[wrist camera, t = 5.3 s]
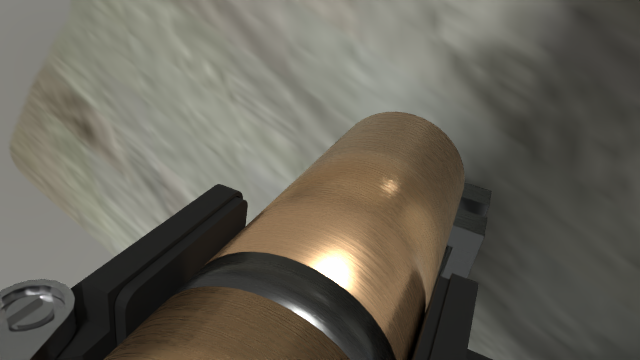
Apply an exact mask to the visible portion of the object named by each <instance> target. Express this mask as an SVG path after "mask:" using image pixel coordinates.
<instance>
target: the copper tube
mask: <svg viewBox="0 0 640 360" xmlns="http://www.w3.org/2000/svg"><path fill="white" fill-rule="evenodd" d="M463 189H464V168H463V163H462V160H461V157H460V155H459V153H458V151H457V149H456V147H455V146H454V144H453V142H452V141H451V140H450V139H449V137H448V136H447V135H446V134H445V133H444V132H443V131H442V130H441V129H439V128H438V127H437V126H435V125H434V124H432V123H431V122H429V121H427V120H425V119H423V118H421V117H418V116H416V115H412V114H408V113H402V112H385V113H378V114H375V115H372V116H369V117H367V118H365V119H363V120H361V121H360V122H358V123H357V124H355V125H354V126H353V127H352V128H351V129H350V130H349V131H348V132H347V133H345V134H344V135H343V136H342V137H341V138H340V139H339V140H338V141H337V142H336V143H335V144H334V145H333V146H332V147H330V148H329V149H328V150H327V151H326V152H325V153H324V154H323V155H322V156H321V157H320V158H319V159H318V160H317V161H315V162H314V163H313V164H312V165H311V166H310V167H309V168H308V169H307V170H306V171H305V172H304V173H303V174H302V175H300V176H299V177H298V178H297V179H296V180H295V181H294V182H293V183H292V184H291V185H290V186H289V187H288V188H287V189H285V190H284V191H283V192H282V193H281V194H280V195H279V196H278V197H277V198H276V199H275V200H274V201H273V202H272V203H270V204H269V205H268V206H267V207H266V208H265V209H264V210H263V211H262V212H261V213H260V214H259V215H258V216H257V217H255V218H254V219H253V220H252V221H251V222H250V223H249V224H248V225H247V226H246V227H245V228H244V229H243V230H242V231H240V232H239V233H238V234H237V235H236V236H235V237H234V238H233V239H232V240H231V241H230V242H229V243H228V244H227V245H225V246H224V247H223V248H222V249H221V250H220V251H219V252H218V253H217V254H216V255H215V256H214V257H213V258H212V259H210V260H209V261H208V262H207V263H206V264H205V265H204V266H203V267H202V268H201V269H200V270H199V271H198V272H197V273H195V274H194V275H193V276H192V277H191V278H190V279H189V280H188V281H187V282H186V283H185V284H184V285H183V286H182V287H180V288H179V289H178V290H177V291H176V292H175V293H174V294H173V295H172V296H171V297H170V298H169V299H168V300H167V301H165V302H164V303H163V304H162V305H161V306H160V307H159V308H158V309H157V310H156V311H155V312H154V313H153V314H152V315H150V316H149V317H148V318H147V319H146V320H145V321H144V322H143V323H142V324H141V325H140V326H139V327H138V328H137V329H135V330H134V331H133V332H132V333H131V334H130V335H129V336H128V337H127V338H126V339H125V340H124V341H123V342H122V343H120V344H119V345H118V346H117V347H116V348H115V349H114V350H113V351H112V352H111V353H110V354H109V355H108V356H107V357H105V358H104V359H103V360H411V358H412V354H413V351H414V348H415V345H416V341H417V338H418V335H419V332H420V328H421V325H422V322H423V319H424V315H425V312H426V310H427V307H428V304H429V301H430V298H431V294H432V291H433V288H434V285H435V281H436V278H437V275H438V272H439V268H440V265H441V262H442V258H443V255H444V252H445V249H446V245H447V242H448V239H449V236H450V232H451V229H452V226H453V223H454V219H455V216H456V213H457V210H458V206H459V203H460V200H461V196H462V193H463Z"/></svg>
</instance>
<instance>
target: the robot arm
mask: <svg viewBox="0 0 640 360" xmlns="http://www.w3.org/2000/svg"><path fill="white" fill-rule="evenodd" d="M247 207H248V204H247V201H246V200H243V196H242V193H241V192H239V191H237V190H234V189H232V188H229V187H226V186H224V185H221V184H217V185H215V186H214V187H212V188H211V189H210V190H208V191H207V192H205V193H204V194H203V195H201V196H200V197H198V198H197V199H196V200H194V201H193V202H191V203H190V204H189V205H187V206H186V207H184V208H183V209H182V210H180V211H179V212H177V213H176V214H175V215H173V216H172V217H170V218H169V219H168V220H166V221H165V222H164V223H162V224H161V225H159V226H158V227H156V228H155V229H153V230H152V231H151V232H149V233H148V234H146V235H145V236H144V237H142V238H141V239H139V240H138V241H137V242H135V243H134V244H132V245H131V246H130V247H128V248H127V249H125V250H124V251H123V252H121V253H120V254H118V255H117V256H116V257H114V258H113V259H111V260H110V261H109V262H107V263H106V264H105V265H103V266H102V267H100V268H99V269H97V270H96V271H95V272H93V273H92V274H91V275H89V276H88V277H86V278H85V279H83V280H82V281H81V282H79V283H78V284H76V285H75V286H74V287H72V288H71V289H70V288H69V287H68V286H66V285H65V284H63V283H60V282H58V281H55V280H46V279H38V280H28V281H24V282H20V283H17V284H14V285H12V286H10V287H7V288H5V289H3V290H1V291H0V360H103V359H104V358H105V357H107V356H108V355H109V354H110V353H111V352H112V351H113V350H114V349H115V348H116V347H117V346H118V345H119V344H120V343H122V342H123V341H124V340H125V339H126V338H127V337H128V336H129V335H130V334H131V333H132V332H133V331H134V330H135V329H137V328H138V327H139V326H140V325H141V324H142V323H143V322H144V321H145V320H146V319H147V318H148V317H149V316H150V315H152V314H153V313H154V312H155V311H156V310H157V309H158V308H159V307H160V306H161V305H162V304H163V303H164V302H165V301H167V300H168V299H169V298H170V297H171V296H172V295H173V294H174V293H175V292H176V291H177V290H178V289H179V288H180V287H182V286H183V285H184V284H185V283H186V282H187V281H188V280H189V279H190V278H191V277H192V276H193V275H194V274H195V273H197V272H198V271H199V270H200V269H201V268H202V267H203V266H204V265H205V264H206V263H207V262H208V261H209V260H210V259H212V258H213V257H214V256H215V255H216V254H217V253H218V252H219V251H220V250H221V249H222V248H223V247H224V246H225V245H227V244H228V243H229V242H230V241H231V240H232V239H233V238H234V237H235V236H236V235H237V234H238V233H239V232H240V231H242V230H243V229H244V228H245V225H246V216H247ZM477 291H478V283H477V282H475V281H472V280H470V279H467V278H464V277H462V276H459V275H456V274H454V273H452V274H451V276H450V278H449V279H447V278H445V277H442V276H439V278H438V281H437V284H436V286H435V289H434V292H433V294H432V297H431V299H430V302H429V305H428V307H427V310H426V312H425V315H424V319H423V322H422V325H421V328H420V332H419V335H418V338H417V341H416V345H415V348H414V351H413V354H412V358H411V360H492V359H490V358H488V357H485V356H483V355H481V354H478V353H476V352H474V351H471V350H469V349H467V348H468V342H469V337H470V331H471V325H472V319H473V314H474V308H475V302H476V296H477Z"/></svg>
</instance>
